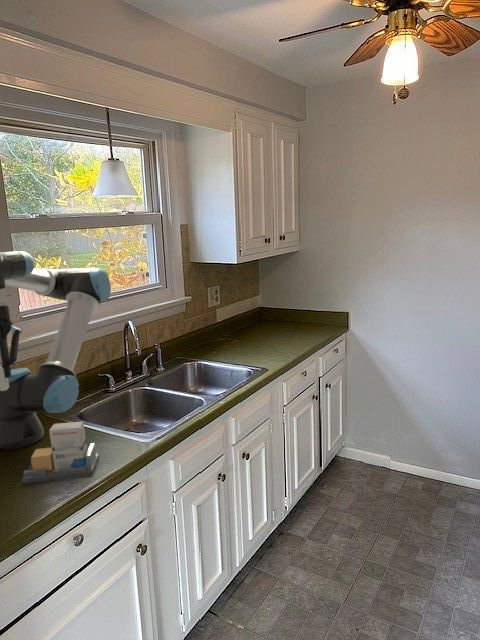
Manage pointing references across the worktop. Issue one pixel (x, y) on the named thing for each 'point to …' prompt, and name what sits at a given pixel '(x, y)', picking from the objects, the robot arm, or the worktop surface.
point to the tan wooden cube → (42, 459)
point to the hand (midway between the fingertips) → (4, 389)
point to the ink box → (68, 444)
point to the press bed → (63, 470)
